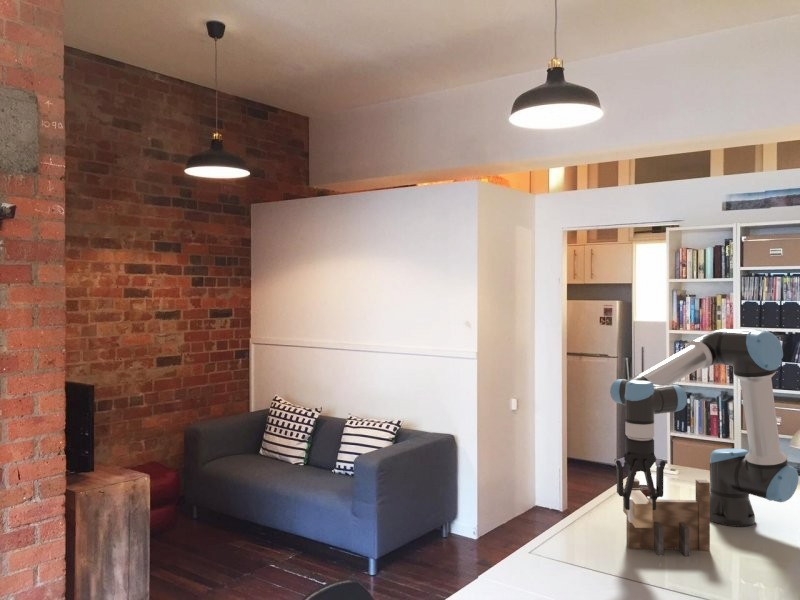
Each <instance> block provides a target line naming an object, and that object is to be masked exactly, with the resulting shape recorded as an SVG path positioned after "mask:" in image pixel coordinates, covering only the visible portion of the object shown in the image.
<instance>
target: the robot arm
mask: <svg viewBox="0 0 800 600" xmlns="http://www.w3.org/2000/svg"><path fill="white" fill-rule="evenodd" d="M783 357H784V351H783V346H782V343H781V341H780V340H779V338H778V337H777V336H776V335H775V334H773V333H772V332H770V331H769V330H761V329H742V328H720V329H716V330H713V331H709V332H707V333H704V334H702V335H700V336H698V337H696V338H694V339H692V340H691V341H688V343H687V344H686V345H685V348H683V349H681V350H679V351H677V352H676V353H674V354H672V355H670V356H669V357H667V358H665V359H664V360H661V361H659V362H658V363H656V364H654V365H653V366H651V367H649V368H647V369H645V370H643V371H642V372H640V373H638V374H637V375H634V376H632V377H630V378H628V379H626V378H622V379H620V378H618V379H616V380H614V381H613V382H612V383H611V386H610V389H609V394H610V397H611V399H612V401H614V403H617V404H620V405H623V406H624V409H625V410H624V412H625V415H624V416H625V417H624V418H625V425H624V426H625V427H624V428H625V429H624V430H625V432H624V433H625V435H626V437H625V439H624V440H625V441H624V442H625V447H624V450H625V451H624V455H623V457H621V458H614V460H613V462H614V465H615V467H616V493H617V494H618V496H619V497H622V498H623V497H624V508H625V509H626V510H628V521H629V522H630V523H633V499H632V498H631V496H630V495H631V491H632V487H633V483H634V478H636V475H637V473H638V472H643V474H644V477H645V480H646V485H647V486H648V490H649V494H650V497H647V499H648V500H649V501H650V502H651V503H652V510H656V500H657V499H659V498H660V497H661V498H662V497H663V496H664V470H665V467H666V461H664V460H663V459H662V458H660V459H659V458H657V457H656V454H655V439H654V437H655V415H659V414H667V413H669V414H670V413H676V412H679V411H682V410H684V408H685V407H686V406H687V403H688V395H687V392H686V391H685V389H683V387H682V386H680V385H677V384H675V383H676V382H678V381H680V380H682V379H684V378H686V377H687V376H689V375H690V374H691V375H692V373H695V372H696V371H697V370H699V369H703V370H704V369H707V368H710V367H711V366H717V365H718V366H719V365H723V366H732V369H733V375H734V376H735V377H736V378H737V379H739V383H740V388H741V397H742V403H743V412H744V418H745V419H744V420H745V426H746V434H747V442H748V449H749V450H747V449H744V448H732V447H731V448H716V449H715V450H712V451H711V452H710V455H709V456H710V457H709V459H710V460H709V463H708V464H709V482H710V522H713V523H715V524H719V525H723V526H730V527H748V526H752V525H754V524H755V522H756V514H755V512H754V509H753V505H752V503H751V500H750V496H751V495H752V496H755V497H758V498H762V499H766V500H768V501H769V502H770V501H773V502H778V503H785V502H787V501H789V500H790V499H791V498H793V496H794V494H795V492H796V491H797V489H798V485H799V473H798V470H797V469H796V468H795V467H794V466H793V465H790V464H789V462H788V457H787V455H786V454H785V453H784V452H783V451H781V443H780V437H779V430H778V429H779V428H778V420H777V412H776V405H775V397H774V389H773V381H772V377H774V375H775V374H776V373H777V369H778V368H780V366H781V365H782V362H783V361H782V359H783ZM625 464H627V466H628V467H629V468H628V470H627V471H628V474H627V477H626V478H627V481H626V480H625V486H624V468H623V467H624V466H625ZM654 464H655V466H656V469H655V470H656V475H655V476H656V477H655V479H656V481H655V485H656V486H655V485H654V480H653V476H652V471H651V468H652V467H653V466H654ZM655 487H656V488H655ZM623 488H625V489H624V491H623ZM655 489H656V492H655Z"/></svg>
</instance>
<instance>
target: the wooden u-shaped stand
mask: <svg viewBox="0 0 800 600" xmlns="http://www.w3.org/2000/svg"><path fill="white" fill-rule="evenodd" d="M626 481H627V477H626V480H625V482H626ZM639 485H640V480H639V479H638V478H636V477H635V478H634V483H633V487H632V488H639ZM652 527H653V528H635V526H634V525H633V524H632V523H630V522H629V521H628V517H627V516H626V546H627V548H628V549H629V550H630V549H631V550H633V549H634V550H640V549H650V550H651V549H653V550H655V552H656V553H657V555H658V556H664V550H679V551H680V552H681V553H682V554H683V556H684V557H690V551H695V550H696V551H702V552H703V551H704V552H705V551H706V552H710V551H711V532H710V531H711V521H710V481H708V480H707V479H695V499H659V498H657V500H656V510H652Z"/></svg>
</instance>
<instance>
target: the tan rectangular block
mask: <svg viewBox="0 0 800 600" xmlns="http://www.w3.org/2000/svg"><path fill="white" fill-rule="evenodd" d="M624 489H625V487H623V491H624ZM630 496H631V498H632V499H633V523H632V524H633V525H634V526H635V528H653V527H652V503H651V502H650V501H649V500H648V499H647V498H646V496H645V495H644V494H643V493H642V492H641V491H640V488H632V491H631V495H630ZM622 500H623V501H622V502H623V503H622V505H623V508H622V509H623V513H624V515H626V518H627V517H628V510H626V509H625V508H624V497H622Z"/></svg>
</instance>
